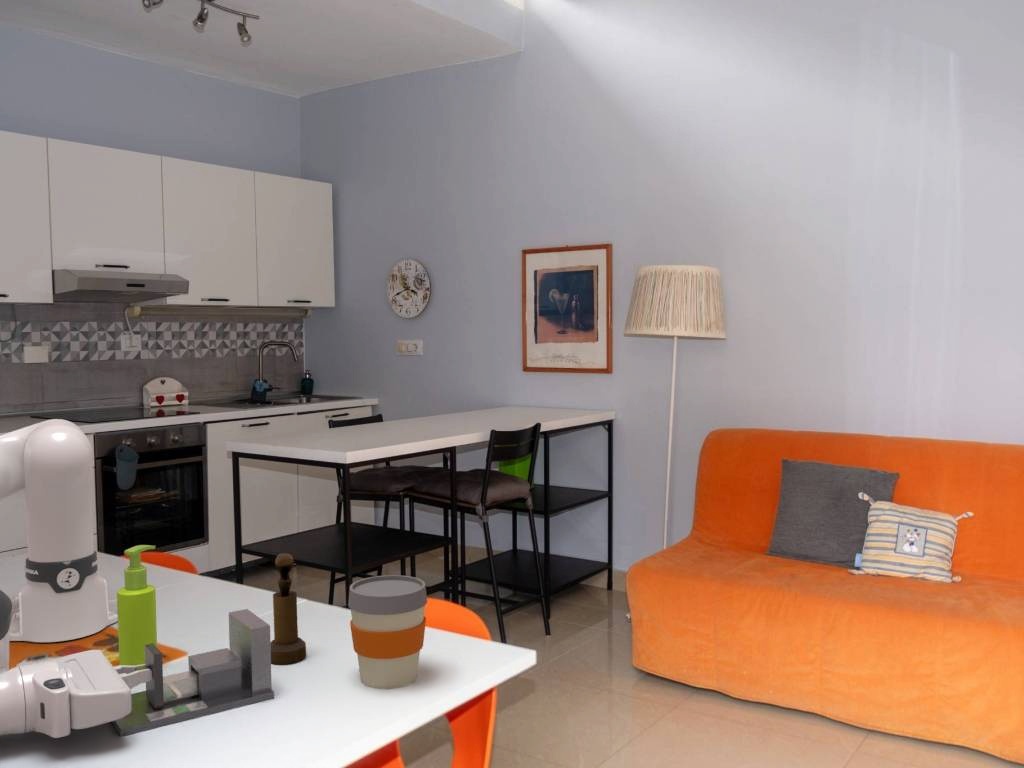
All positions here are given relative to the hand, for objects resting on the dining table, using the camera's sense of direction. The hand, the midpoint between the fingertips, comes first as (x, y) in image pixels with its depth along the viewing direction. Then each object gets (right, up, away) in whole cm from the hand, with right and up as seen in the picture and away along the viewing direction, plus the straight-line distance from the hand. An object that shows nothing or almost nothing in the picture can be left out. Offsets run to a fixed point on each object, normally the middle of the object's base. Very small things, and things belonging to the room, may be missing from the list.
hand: (149, 672), depth 135 cm
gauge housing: (+4, -6, +4) cm, 8 cm away
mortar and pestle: (+15, -5, +22) cm, 27 cm away
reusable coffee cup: (+33, -5, +13) cm, 36 cm away
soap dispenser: (-9, -5, +19) cm, 21 cm away
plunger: (+6, -5, +2) cm, 7 cm away
